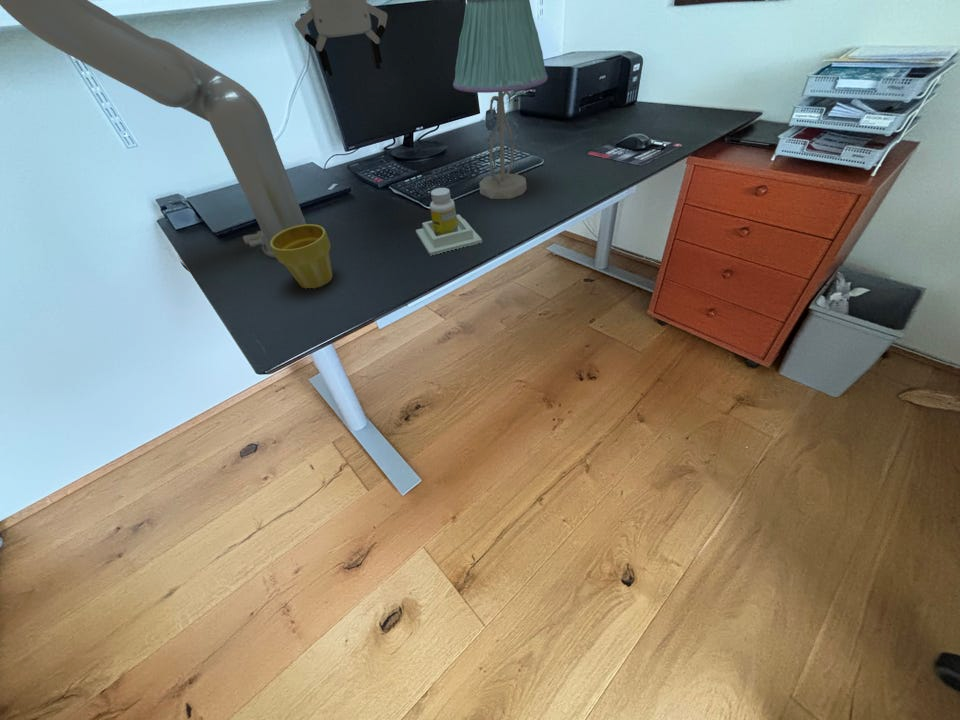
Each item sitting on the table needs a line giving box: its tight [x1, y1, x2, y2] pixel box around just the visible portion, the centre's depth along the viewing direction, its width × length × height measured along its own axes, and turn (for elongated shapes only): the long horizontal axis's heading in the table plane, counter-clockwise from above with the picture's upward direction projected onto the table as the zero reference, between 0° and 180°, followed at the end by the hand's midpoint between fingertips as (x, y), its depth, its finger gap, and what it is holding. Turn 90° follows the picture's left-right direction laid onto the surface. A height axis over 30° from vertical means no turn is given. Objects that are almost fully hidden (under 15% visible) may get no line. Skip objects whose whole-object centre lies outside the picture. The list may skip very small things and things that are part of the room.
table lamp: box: [452, 0, 549, 200], centre depth 96 cm, size 22×22×40 cm
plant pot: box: [270, 223, 334, 290], centre depth 79 cm, size 10×10×10 cm
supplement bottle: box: [429, 187, 458, 236], centre depth 88 cm, size 5×5×10 cm
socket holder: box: [415, 214, 483, 257], centre depth 91 cm, size 12×12×3 cm
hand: (354, 71), depth 82 cm, fingers open, 9 cm apart
